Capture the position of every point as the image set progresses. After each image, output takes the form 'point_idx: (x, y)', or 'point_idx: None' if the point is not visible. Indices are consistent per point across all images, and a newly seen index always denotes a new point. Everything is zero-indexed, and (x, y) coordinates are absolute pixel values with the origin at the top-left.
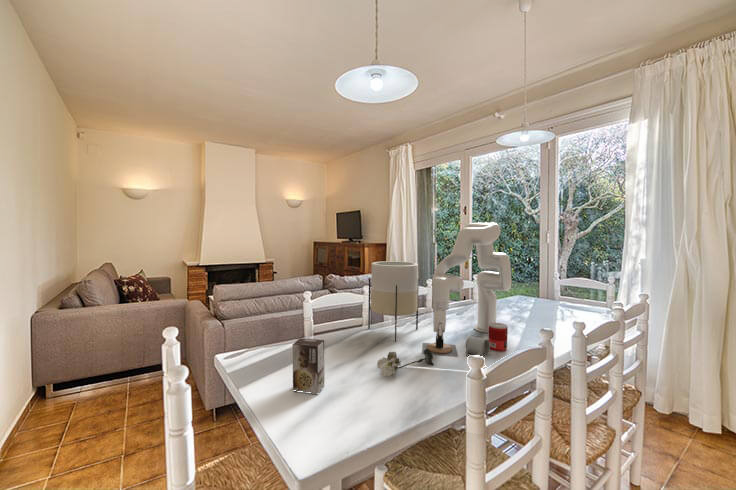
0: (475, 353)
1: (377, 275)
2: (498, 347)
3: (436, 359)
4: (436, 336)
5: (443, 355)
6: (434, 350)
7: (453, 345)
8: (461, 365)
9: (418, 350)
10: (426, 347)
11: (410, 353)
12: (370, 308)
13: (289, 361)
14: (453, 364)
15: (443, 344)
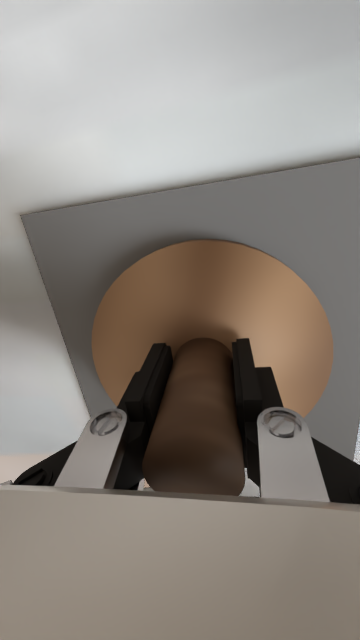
0: None
1: None
2: None
3: (21, 333)
4: (176, 416)
5: (84, 381)
6: (96, 327)
7: (336, 450)
8: (18, 451)
9: (147, 149)
10: (224, 231)
11: (21, 72)
12: None
13: None
14: (7, 420)
15: (288, 396)
